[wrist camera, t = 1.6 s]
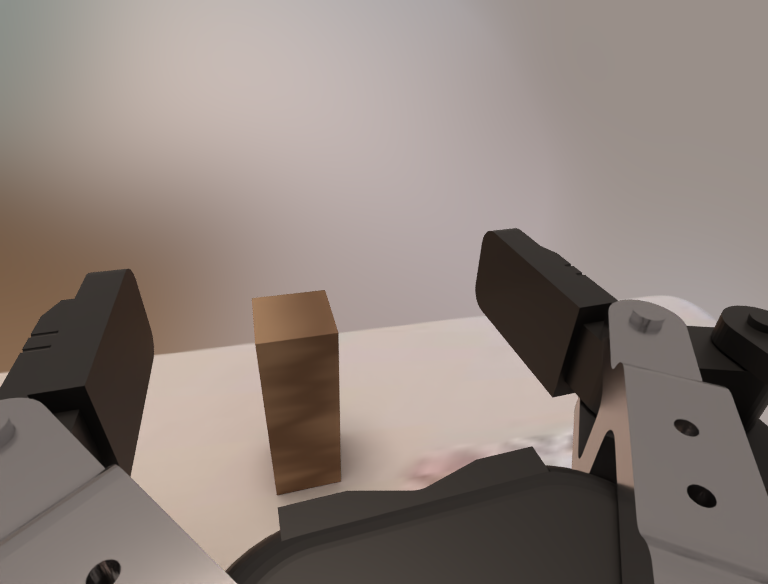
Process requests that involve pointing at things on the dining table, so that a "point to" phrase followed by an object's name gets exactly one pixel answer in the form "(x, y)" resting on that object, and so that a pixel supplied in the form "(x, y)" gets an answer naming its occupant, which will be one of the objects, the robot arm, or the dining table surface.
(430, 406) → the dining table surface
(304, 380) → the pillar
